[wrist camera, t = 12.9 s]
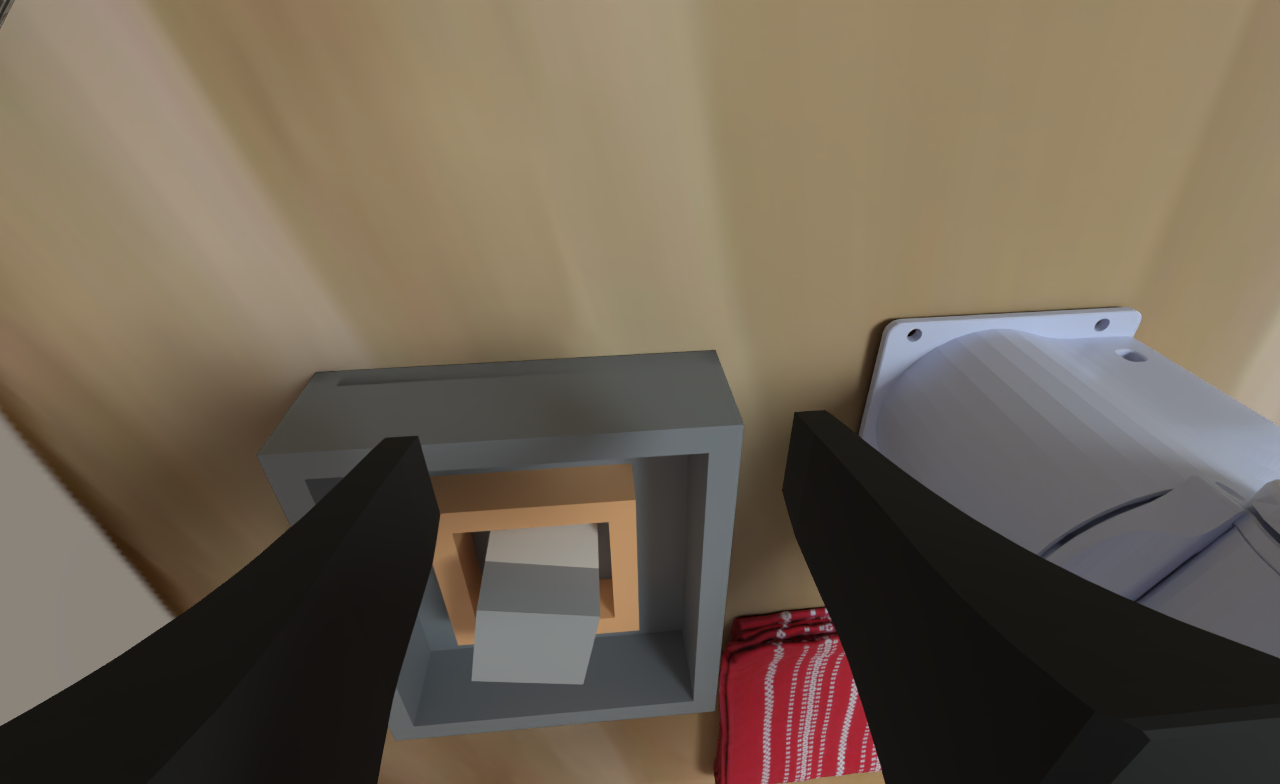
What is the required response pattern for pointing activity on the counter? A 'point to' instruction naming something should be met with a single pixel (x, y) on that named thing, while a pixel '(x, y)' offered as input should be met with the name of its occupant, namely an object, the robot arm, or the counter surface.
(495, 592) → the grey block
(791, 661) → the dish towel
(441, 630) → the box
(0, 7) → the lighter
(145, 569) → the counter surface
